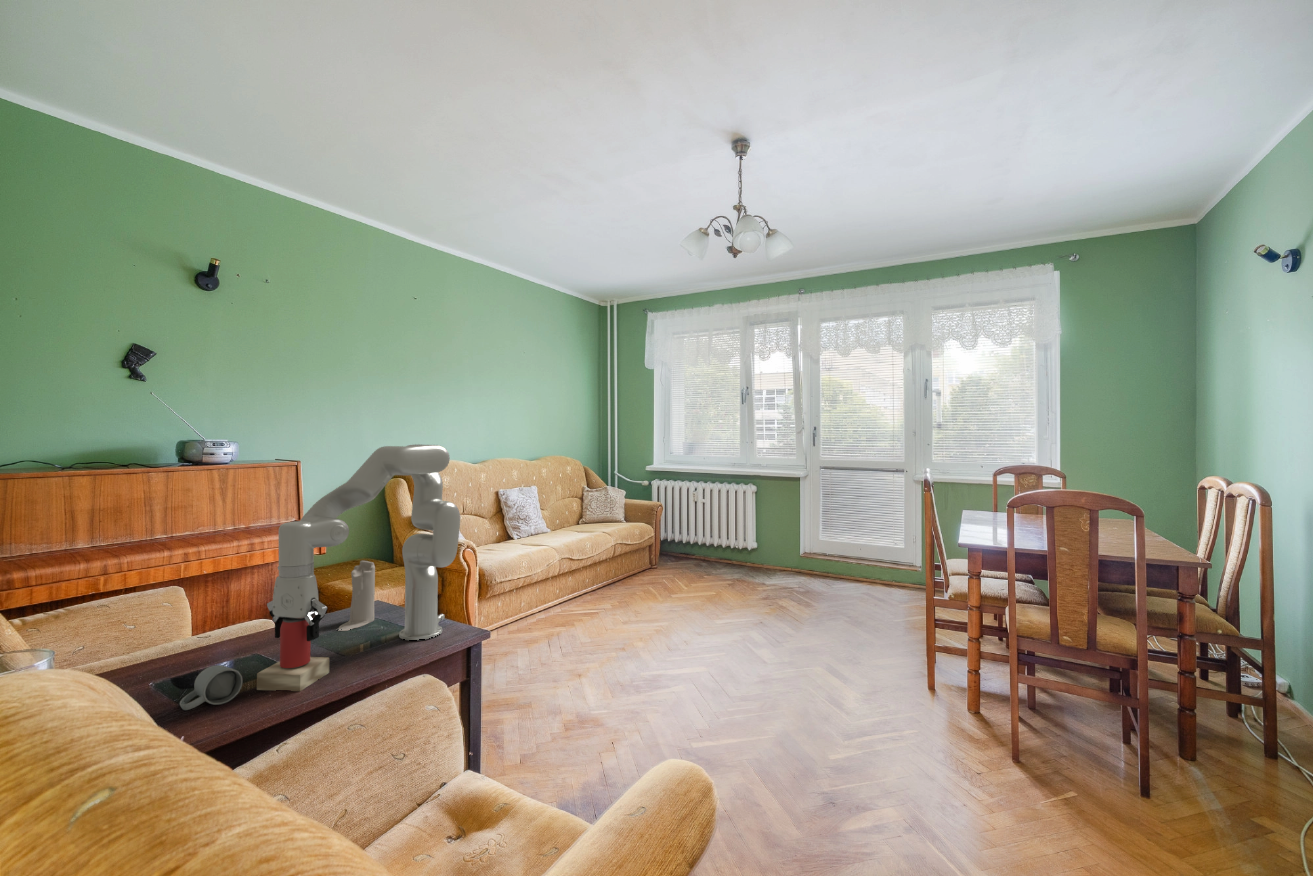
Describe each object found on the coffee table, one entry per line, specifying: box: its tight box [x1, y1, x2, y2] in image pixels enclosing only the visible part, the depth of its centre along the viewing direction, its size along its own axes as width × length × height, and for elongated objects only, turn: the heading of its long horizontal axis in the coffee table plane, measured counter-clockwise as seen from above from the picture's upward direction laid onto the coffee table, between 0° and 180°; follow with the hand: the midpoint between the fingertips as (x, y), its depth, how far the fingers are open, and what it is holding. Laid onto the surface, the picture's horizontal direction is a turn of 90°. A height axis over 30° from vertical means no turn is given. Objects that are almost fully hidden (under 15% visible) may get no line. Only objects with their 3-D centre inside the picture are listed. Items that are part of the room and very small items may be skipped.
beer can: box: [279, 617, 312, 669], centre depth 142 cm, size 7×7×12 cm
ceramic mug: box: [179, 664, 243, 711], centre depth 130 cm, size 11×8×8 cm
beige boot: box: [337, 560, 376, 632], centre depth 185 cm, size 7×14×20 cm, turn 170°
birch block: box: [256, 656, 330, 692], centre depth 141 cm, size 11×11×4 cm
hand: (296, 637), depth 142 cm, fingers open, 9 cm apart
